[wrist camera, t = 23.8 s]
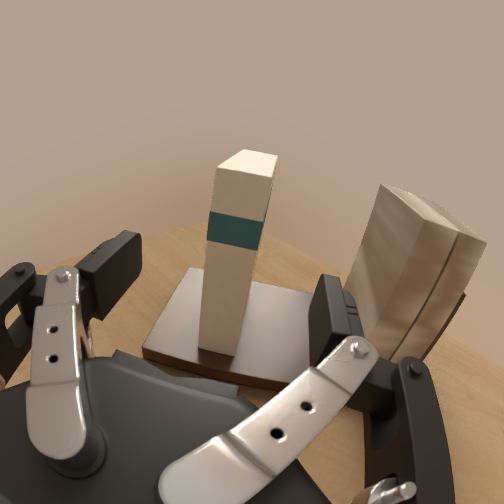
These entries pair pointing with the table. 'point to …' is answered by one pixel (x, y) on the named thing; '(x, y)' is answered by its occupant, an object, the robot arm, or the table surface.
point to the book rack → (358, 284)
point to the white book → (233, 246)
